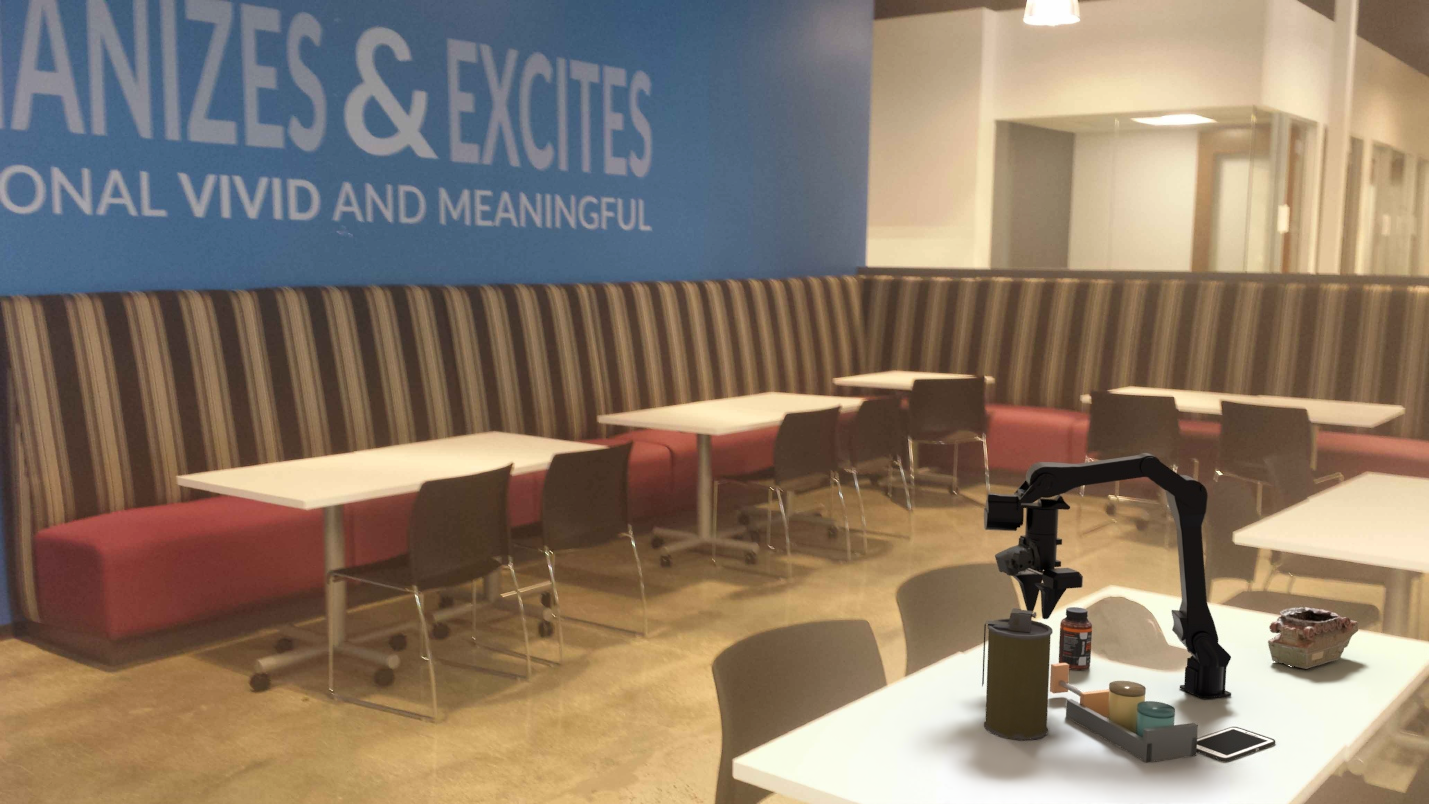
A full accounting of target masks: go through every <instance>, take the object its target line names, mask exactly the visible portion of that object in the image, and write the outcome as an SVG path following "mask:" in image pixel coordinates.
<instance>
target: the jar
mask: <svg viewBox="0 0 1429 804" xmlns="http://www.w3.org/2000/svg"><path fill="white" fill-rule="evenodd" d="M1175 716H1176V708H1175V707H1174V706H1172V705H1171V704H1168V703H1165V702H1163V701H1162V702H1161V701H1155V700H1154V701H1153V700H1152V701H1151V700H1145V701H1144V702H1140V703H1138V704H1137V727H1136V734H1137V735H1138V736H1140V737H1142V738H1143V729H1148V728H1156V727H1164V726H1172V725H1175Z"/></svg>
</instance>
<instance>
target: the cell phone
mask: <svg viewBox="0 0 1429 804" xmlns="http://www.w3.org/2000/svg"><path fill="white" fill-rule="evenodd" d="M1275 745H1276V739H1274V738H1272V737H1269V736H1265V735H1263V734H1259V733H1256V732H1254V731H1250V730H1248V729H1246V728H1241V727H1238V726H1230V727H1227V728H1224V729H1220V730H1218V731H1215V732H1212V733H1208V734H1206V735H1203V736H1199V737H1197V751H1196V754H1201V755H1204V756H1205V757H1207V758H1211V759H1213V760H1215V761H1218V762H1222V763H1227V762H1232V761H1234V760H1236V759H1239V758H1241V757H1246V756H1248V755H1251V754H1254V753H1256V752H1257V751H1262V750H1264V749H1267V748H1271V747H1273V746H1275Z"/></svg>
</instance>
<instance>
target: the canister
mask: <svg viewBox="0 0 1429 804" xmlns="http://www.w3.org/2000/svg"><path fill="white" fill-rule="evenodd" d="M1037 615H1038V613H1037V612H1036V611H1028V610H1027V609H1021V608H1012V609H1011V612H1010V614H1009V617H1008V618H1000V619H995V620H985V623H984V626H983V627H984V628H983V649H982V650H983V654H982V656H983V657H982V678H981V679H982V680H981V681H982V683H981V687H982V688H983V687H984V683H985V681H984V680H985V659H986V658H985V657H986V655H985V654H986V653H985V652H986V633H987V631H986V629H988V637H987V638H988V641H987V642H988V643H987V644H988V645H987V664H986V665H987V667H986V668H987V670H986V691H985V692H986V698H985V699H986V700H985V721H984V722H983V727H984V729H985V730H986V731H987V732H989V733H990V734H992V735H994V736H997V737H1000V738H1005V739H1010V740H1015V741H1031V740H1038V739H1041V738H1044V737H1046V736H1047V735H1048V733H1049V728H1048V708H1049V706H1048V704H1049V703H1048V702H1049V700H1048V699H1049V686H1050V680H1049V679H1050V662H1051V661H1050V659H1051V658H1050V657H1051V656H1050V655H1051V636H1052V634H1053V628H1052V627H1051V626H1049V625H1048V624H1046V623H1043V622H1040V621H1036V620H1033V619H1036V618H1037ZM1032 618H1033V619H1032Z"/></svg>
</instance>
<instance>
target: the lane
mask: <svg viewBox="0 0 1429 804" xmlns="http://www.w3.org/2000/svg"><path fill="white" fill-rule="evenodd" d="M1065 717H1066V718H1067V719H1070V721H1073V722H1074V723H1076V724H1078V725H1079V726H1081V727H1084V728H1085V729H1086V730H1089V731H1091V732H1092V733H1094V734H1095V735H1097V736H1099V737H1101V738H1103V739H1104V740H1106V741H1108V742H1109V743H1111V744H1113V745H1114V746H1117V747H1118V748H1120V749H1122V750H1124V751H1125V752H1127V753H1129V754H1131V755H1132V756H1134V757H1136V758H1137V759H1139V760H1141V761H1142V762H1144V763H1153V762H1159V761H1168V760H1175V759H1183V758H1189V757H1190V758H1191V757H1196V756H1197V753H1196V751H1197V738H1198V732H1199V731H1198V730H1199V729H1198V728H1199V725H1198V724H1197V723H1194V722H1190V723H1181V724H1174V725H1172V726H1164V727H1156V728H1148V729H1143V738H1142V737H1140V736H1138V735H1137V734H1135V733H1133V732H1131V731H1129V730H1127V729H1126V728H1124V727H1122V726H1120V725H1118V724H1116V723H1115V722H1113V721H1111V720H1109V719H1108V717H1104V716H1102V715H1100V714H1098V713H1096V712H1094V711H1093V710H1091V709H1089V708H1087V707H1085V706H1083V705H1082V704H1080V702H1078V701H1076V700H1074V699H1073V698H1069V699H1066V706H1065Z"/></svg>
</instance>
